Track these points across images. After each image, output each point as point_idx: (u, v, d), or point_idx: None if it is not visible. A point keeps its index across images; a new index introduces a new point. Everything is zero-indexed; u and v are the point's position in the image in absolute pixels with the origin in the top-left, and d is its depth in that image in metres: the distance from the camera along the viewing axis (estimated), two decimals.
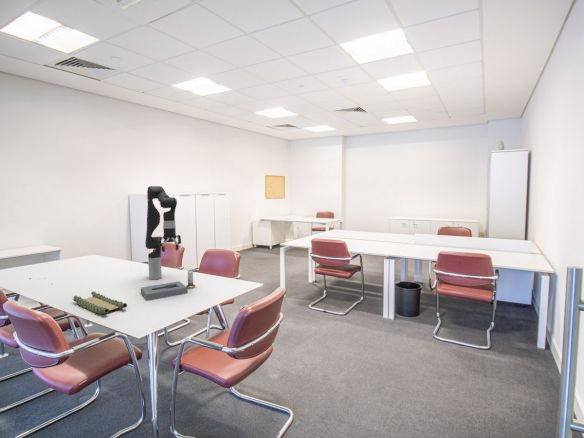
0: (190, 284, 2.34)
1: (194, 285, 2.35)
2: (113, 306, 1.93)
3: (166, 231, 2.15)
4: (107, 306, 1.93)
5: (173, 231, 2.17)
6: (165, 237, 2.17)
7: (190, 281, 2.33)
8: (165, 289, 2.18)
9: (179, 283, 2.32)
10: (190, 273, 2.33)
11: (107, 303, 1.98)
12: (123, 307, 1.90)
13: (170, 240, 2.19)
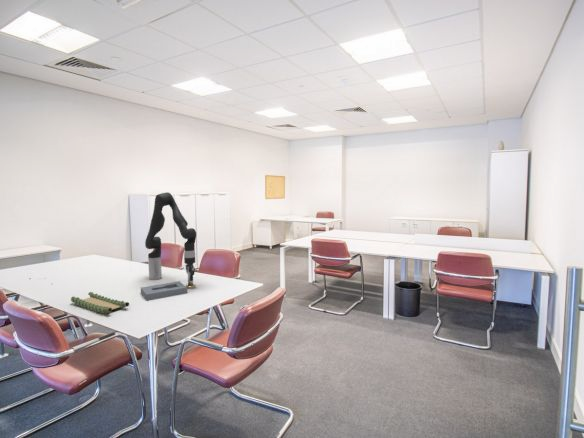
0: (190, 284, 2.34)
1: (194, 285, 2.35)
2: (114, 305, 1.93)
3: (194, 259, 2.33)
4: (108, 306, 1.93)
5: None
6: None
7: (190, 281, 2.33)
8: (165, 289, 2.18)
9: (179, 283, 2.32)
10: None
11: (107, 303, 1.98)
12: (125, 306, 1.92)
13: None
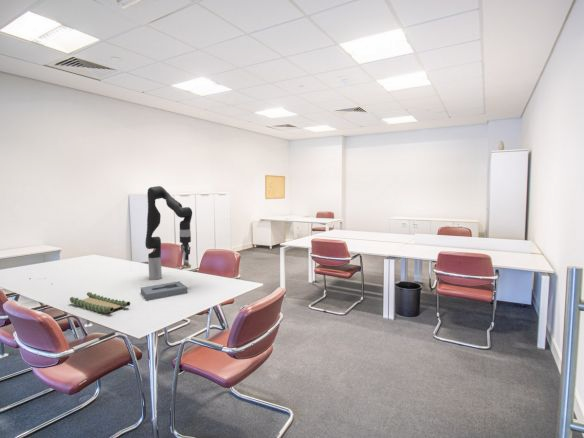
0: (185, 264, 2.30)
1: (190, 265, 2.32)
2: (115, 305, 1.94)
3: (190, 239, 2.30)
4: (109, 305, 1.94)
5: None
6: None
7: (185, 261, 2.30)
8: (165, 289, 2.18)
9: (179, 283, 2.32)
10: None
11: (108, 303, 1.98)
12: (126, 305, 1.92)
13: None
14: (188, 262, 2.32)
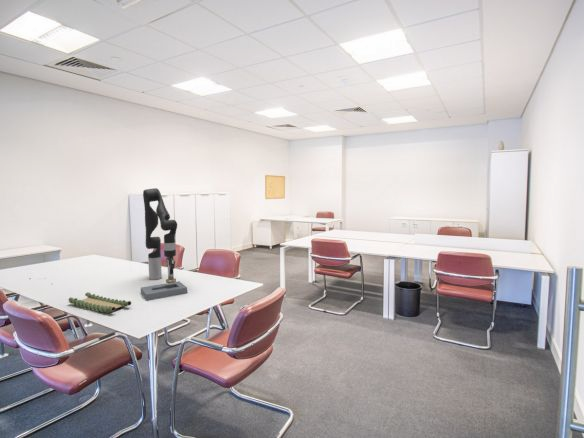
0: (170, 278, 2.23)
1: (174, 279, 2.25)
2: (116, 305, 1.95)
3: (174, 252, 2.22)
4: (110, 305, 1.94)
5: None
6: None
7: (170, 275, 2.23)
8: (165, 289, 2.18)
9: (179, 283, 2.32)
10: None
11: (108, 302, 1.98)
12: (127, 305, 1.93)
13: None
14: (173, 276, 2.24)
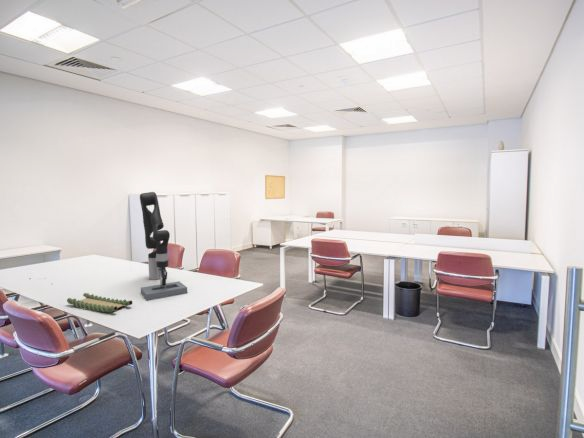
0: None
1: None
2: (117, 304, 1.95)
3: (167, 263, 2.20)
4: (110, 305, 1.94)
5: None
6: None
7: (163, 286, 2.21)
8: (165, 289, 2.18)
9: (179, 283, 2.32)
10: None
11: (108, 302, 1.99)
12: (129, 304, 1.94)
13: None
14: (165, 287, 2.22)
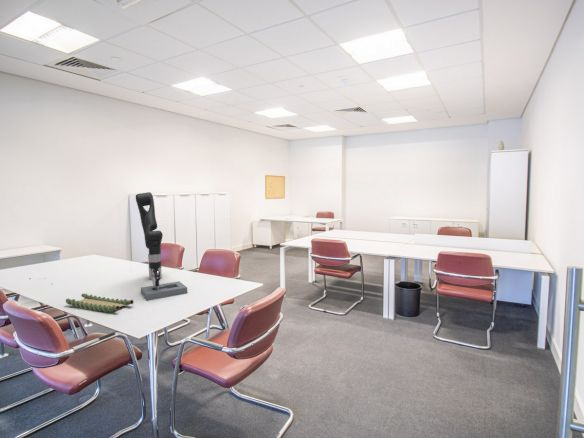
0: None
1: None
2: (118, 304, 1.96)
3: (160, 264, 2.17)
4: (111, 305, 1.95)
5: None
6: (158, 271, 2.16)
7: (155, 288, 2.18)
8: (165, 289, 2.18)
9: (179, 283, 2.32)
10: None
11: (108, 302, 1.99)
12: None
13: None
14: None
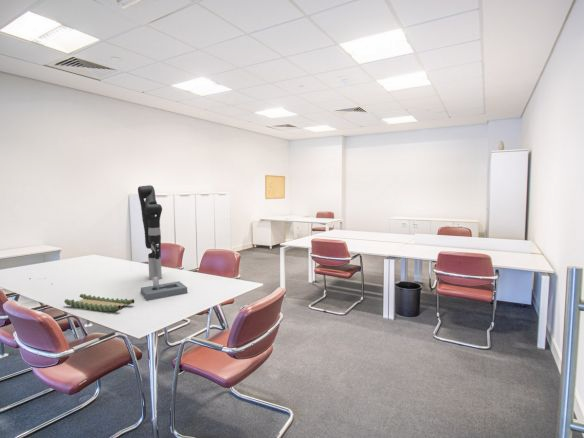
0: None
1: None
2: (118, 304, 1.97)
3: (159, 237, 2.17)
4: (112, 304, 1.95)
5: None
6: (157, 244, 2.17)
7: (155, 288, 2.18)
8: (165, 289, 2.18)
9: (179, 283, 2.32)
10: (155, 279, 2.17)
11: (108, 302, 1.99)
12: (131, 303, 1.97)
13: None
14: None
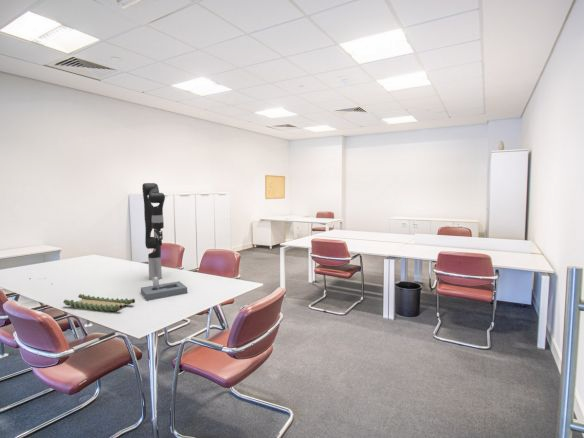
0: None
1: None
2: (119, 303, 1.97)
3: (162, 225, 2.26)
4: (112, 304, 1.96)
5: None
6: None
7: (155, 288, 2.18)
8: (165, 289, 2.18)
9: (179, 283, 2.32)
10: (155, 279, 2.17)
11: (108, 302, 1.99)
12: None
13: None
14: None
